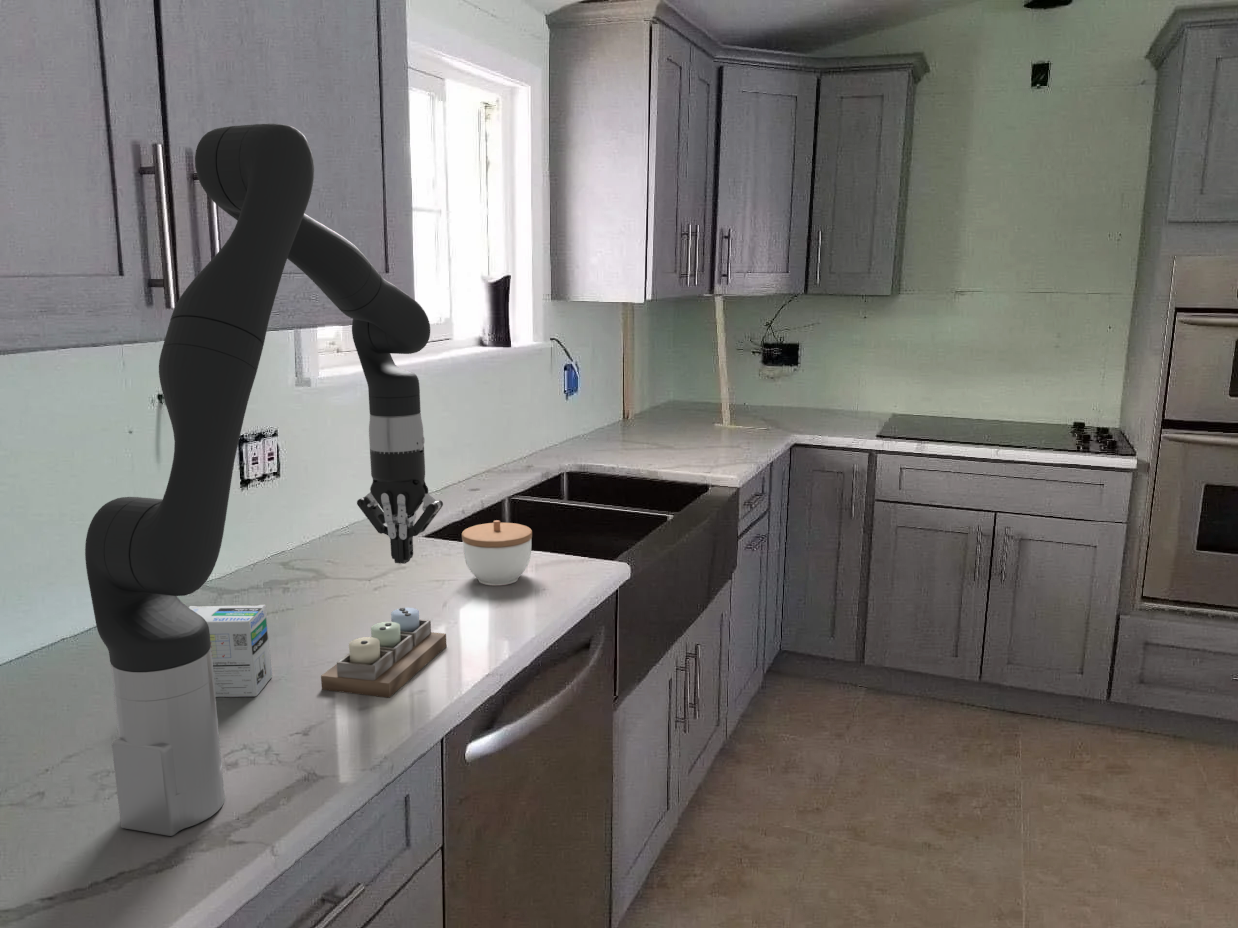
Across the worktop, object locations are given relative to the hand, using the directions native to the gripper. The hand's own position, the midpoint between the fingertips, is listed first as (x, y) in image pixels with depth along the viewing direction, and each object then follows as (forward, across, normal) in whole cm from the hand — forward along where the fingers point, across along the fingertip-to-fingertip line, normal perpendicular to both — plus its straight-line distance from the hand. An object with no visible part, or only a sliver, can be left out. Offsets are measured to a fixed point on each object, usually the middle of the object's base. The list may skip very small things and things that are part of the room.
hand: (402, 561), depth 138 cm
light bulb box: (+14, -18, -18) cm, 29 cm away
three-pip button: (+10, 0, 0) cm, 10 cm away
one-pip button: (+10, 0, -12) cm, 16 cm away
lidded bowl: (+14, +1, +34) cm, 37 cm away
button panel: (+14, 0, -6) cm, 15 cm away
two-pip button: (+10, 0, -6) cm, 12 cm away
